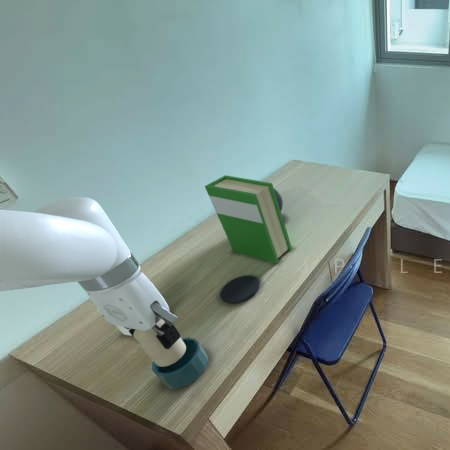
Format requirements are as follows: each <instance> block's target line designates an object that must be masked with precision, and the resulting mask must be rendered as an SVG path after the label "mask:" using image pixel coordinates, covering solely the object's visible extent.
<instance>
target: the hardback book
mask: <svg viewBox="0 0 450 450" xmlns="http://www.w3.org/2000/svg"><path fill="white" fill-rule="evenodd" d="M204 188H205V190H206V193H207V194H208V197H209V199H210V201H211V204H212V206H213V209H214V211H215V213H216V215H217V217H218V220H219V222H220V224H221V226H222V229H223V231H224V233H225V235H226V237H227V240H228V242H229V245H230V246H231V250H232V251H233V252H234V253H237V254H241V255H243V256H244V255H245V256H248V257H252V258H255V259H259V260H262V261H267V262H270V263H274V264H279V263H280V260H279V258H280V257H281V256H282V255H283V254H284V253H286V252H287V251H290V252H291V251H292V250H293V248H292V244H291V240H290V237H289V234H288V231H287V228H286V224H285V222H284V221H283V217H282V215H283V214H282V210H281V211H280V207H279V204H278V201H277V198H276V194H275V191H274V189H275V187H274V184H273V183H272V182H267V181H261V180H255V179H249V178H244V177H238V176H233V175H232V176H231V175H227V174H226V175H223V176H222V177H219V178H218V179H215V180H213V181H211V182H210V183H208V184H206V185H204Z"/></svg>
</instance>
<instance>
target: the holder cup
mask: <svg viewBox="0 0 450 450" xmlns="http://www.w3.org/2000/svg"><path fill="white" fill-rule="evenodd" d="M181 339H182V341H183V342H184V344H185V346H186V351H185V353H184V355H183V356H182V357H181V358H180V359H179V360H178V361H176V362H175V363H173V364H171V365H169V366H165V367H160V366H158V365H156V364H155V363H154V361H153V360H152V363H151V371H152V372H153V373H154V374H155V376H156V377H157V378H158V379H159V380H160V381H161V383H163V384H164V386H166V387H167V388H170V389H180V388H182V387H183V388H184V387H186V386H188V385H190V384H191V383H193V382H195V381H196V380H197V379H199V378H200V376H202V375H203V373H204V372H205V371H206V369H207V367H208V363H209V357H208V353H207V352H206V350H205V349H204V347H203V346H202V345H201V343H200V342H199V341H198V340H197V339H196V338H194V337H193V338H192V337H183V338H182V337H181Z"/></svg>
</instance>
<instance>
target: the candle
mask: <svg viewBox="0 0 450 450" xmlns="http://www.w3.org/2000/svg"><path fill="white" fill-rule="evenodd" d="M155 317H156V316H155ZM164 323H165V322H164V321H163V320H162V319H161V320H159V321H158V322H157V323H156V325H157V326H158V327H161V326H162V325H163V324H164ZM133 336H134V337H133ZM133 336H132V337H133V339H134V338H135V339H136V340H135V339H134V340H135V341H136V342H137V344H139V346H140V347H141V348H142V349H143V351H144V352H145V353H146V355H147V356H148V357H149V358H150V359H151V361H152V362H153V361H154V363H155V364H156V365H158V366H160V367H165V366H169V365H171V364H173V363H175V362H176V361H178V360H179V359H180V358H181V357H182V356H183V355H184V353H185V351H186V346H185V344H184V342H183V341H182V337H180V338H179V339H178V340H177V341H176V342H175V343H174V344H173V345H172V347H171V348H170V349H165V348H164V347H163V345H162V344H161V343H160V341H159V340H158V339H157V337H156V336H157V333H156V332H155V331H153V330H152V329H150V330H137V329H136V330H135V331H134V334H133Z"/></svg>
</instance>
